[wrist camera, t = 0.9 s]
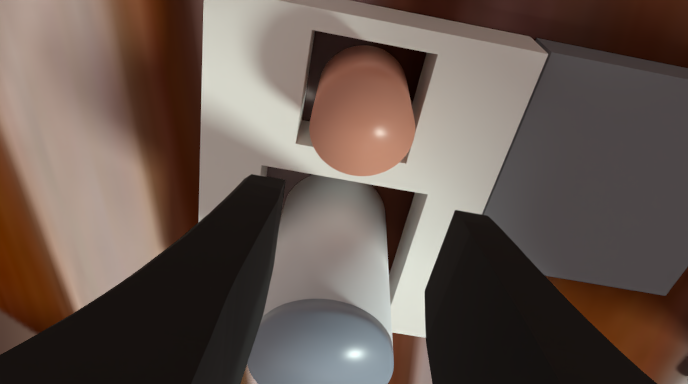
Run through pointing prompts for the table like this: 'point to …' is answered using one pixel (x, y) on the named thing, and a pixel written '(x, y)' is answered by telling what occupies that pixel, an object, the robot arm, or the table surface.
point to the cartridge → (327, 290)
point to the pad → (600, 171)
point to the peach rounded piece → (362, 112)
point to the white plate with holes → (428, 109)
